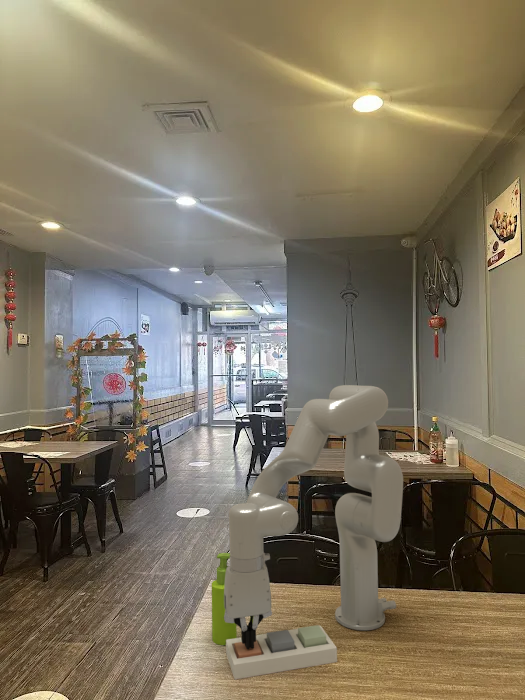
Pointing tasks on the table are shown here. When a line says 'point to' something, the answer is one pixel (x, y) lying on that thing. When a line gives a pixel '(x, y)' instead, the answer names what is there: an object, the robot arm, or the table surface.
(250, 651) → the terracotta button
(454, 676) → the table surface
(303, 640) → the sage button
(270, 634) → the slate button
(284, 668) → the button panel
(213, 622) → the soap dispenser
